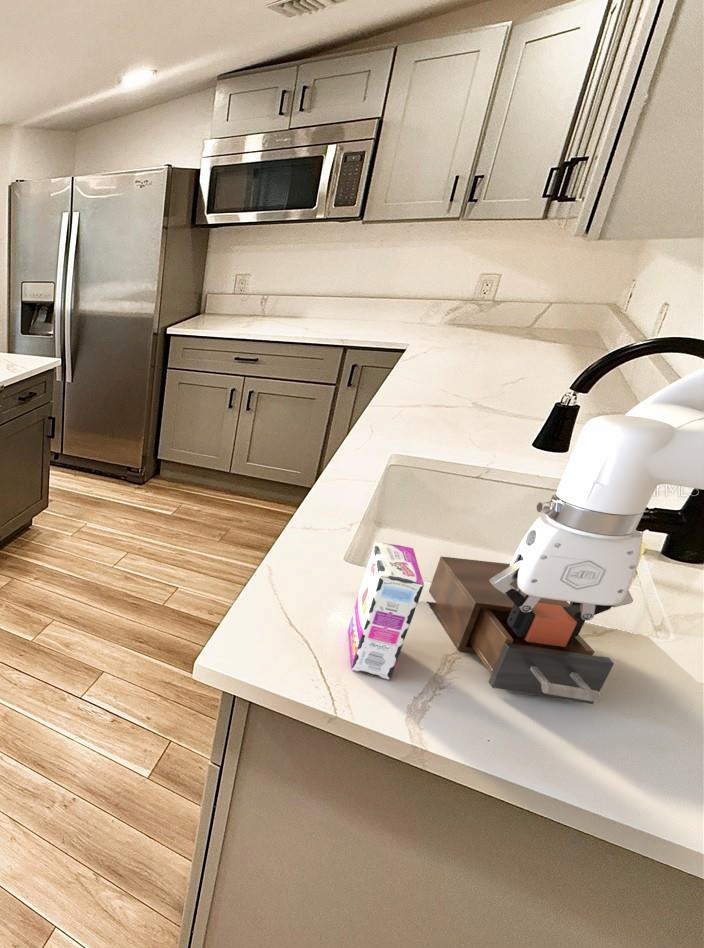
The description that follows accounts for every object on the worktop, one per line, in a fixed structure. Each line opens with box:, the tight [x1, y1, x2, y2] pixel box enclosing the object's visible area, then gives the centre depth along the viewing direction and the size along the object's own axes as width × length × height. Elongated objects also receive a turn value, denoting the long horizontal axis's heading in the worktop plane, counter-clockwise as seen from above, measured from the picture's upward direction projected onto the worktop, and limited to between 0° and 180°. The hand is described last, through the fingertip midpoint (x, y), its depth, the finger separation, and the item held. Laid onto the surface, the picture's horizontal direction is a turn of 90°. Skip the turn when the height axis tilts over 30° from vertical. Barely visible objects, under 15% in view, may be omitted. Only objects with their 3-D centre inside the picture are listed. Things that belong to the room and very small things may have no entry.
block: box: [524, 603, 577, 647], centre depth 82 cm, size 4×4×4 cm
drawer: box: [468, 608, 615, 705], centre depth 83 cm, size 17×10×7 cm, turn 158°
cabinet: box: [426, 556, 570, 654], centre depth 93 cm, size 14×12×9 cm
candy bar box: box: [347, 541, 425, 681], centre depth 89 cm, size 11×5×16 cm, turn 149°
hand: (539, 633), depth 83 cm, fingers closed on block, 4 cm apart
